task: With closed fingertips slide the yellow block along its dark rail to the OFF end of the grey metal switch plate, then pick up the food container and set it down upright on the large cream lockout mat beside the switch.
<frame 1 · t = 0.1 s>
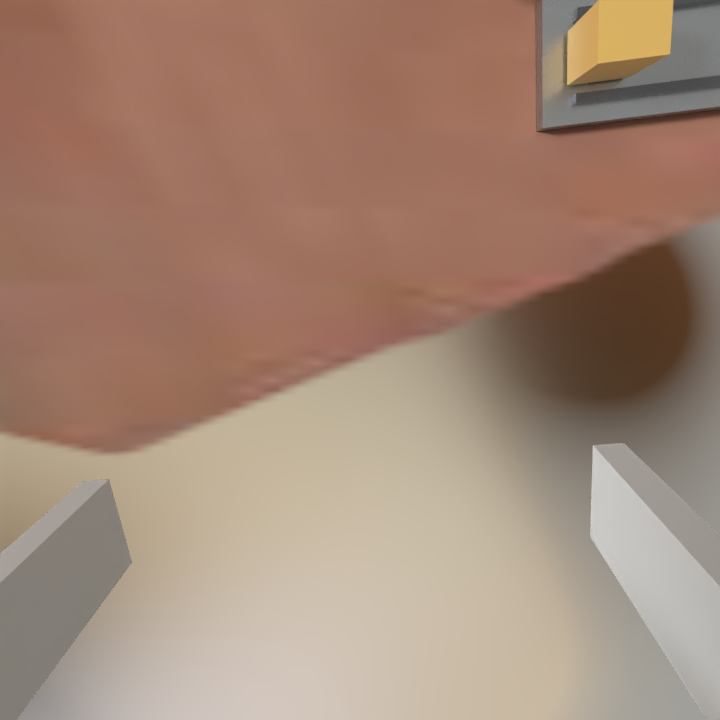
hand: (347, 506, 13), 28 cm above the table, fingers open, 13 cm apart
panel: (646, 55, 34), on the table
yellow block: (615, 42, 30), point 4 cm above the table, slide at 0.0 cm
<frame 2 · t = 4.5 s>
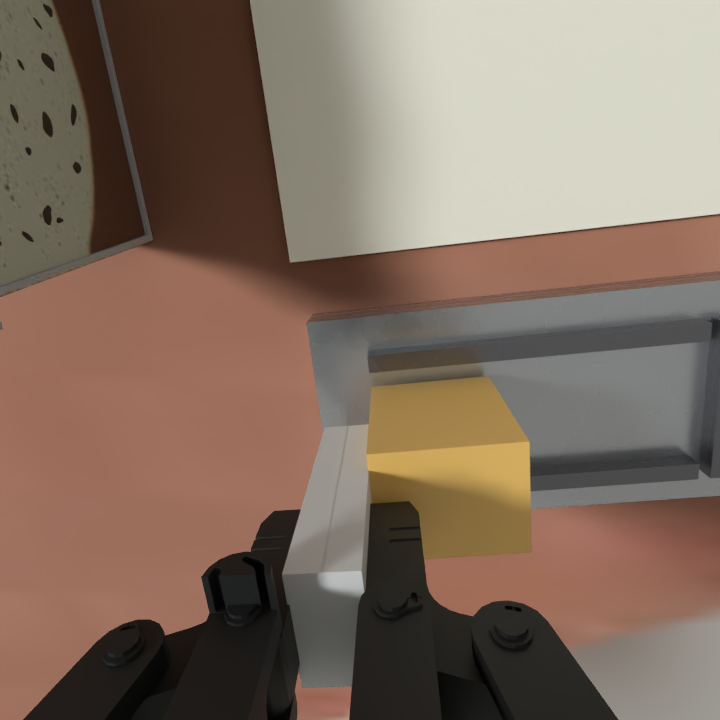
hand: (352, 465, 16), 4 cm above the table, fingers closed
panel: (519, 396, 19), on the table
yellow block: (440, 457, 15), point 4 cm above the table, slide at 0.5 cm, touching gripper
mat: (542, 0, 15), on the table
food container: (40, 112, 17), on the table
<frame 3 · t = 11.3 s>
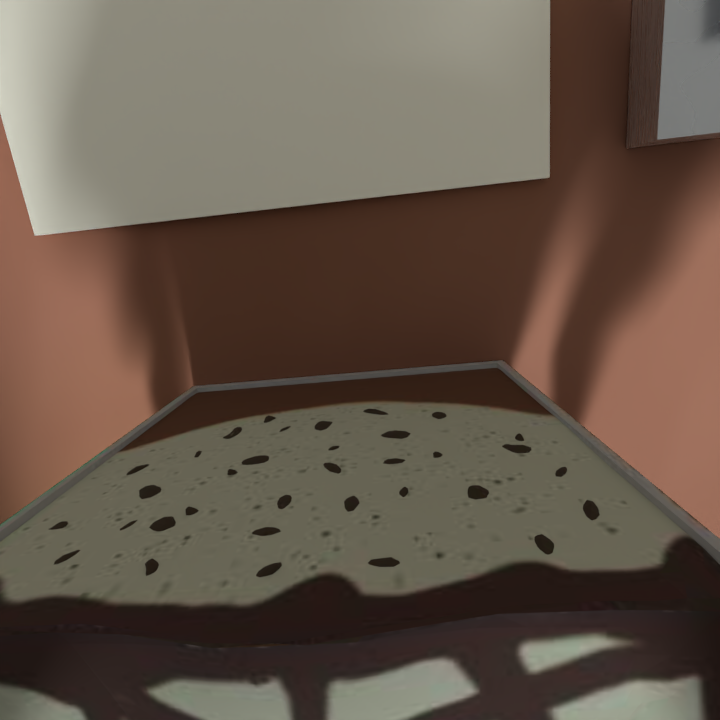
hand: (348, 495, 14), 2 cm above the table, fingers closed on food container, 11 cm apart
food container: (355, 462, 16), on the table, touching gripper
when the fingers open (3 cm above the table, at t = 19.3 s): food container stays where it is, resting on mat.
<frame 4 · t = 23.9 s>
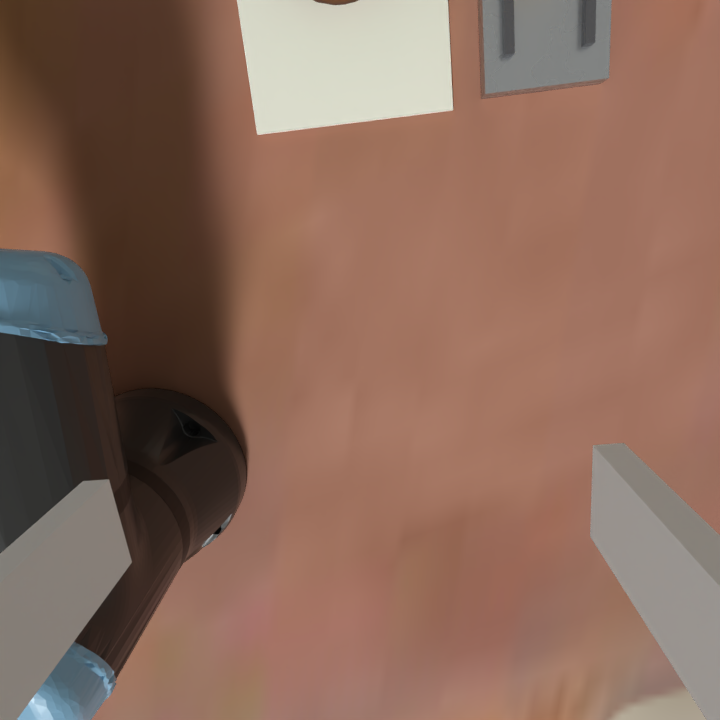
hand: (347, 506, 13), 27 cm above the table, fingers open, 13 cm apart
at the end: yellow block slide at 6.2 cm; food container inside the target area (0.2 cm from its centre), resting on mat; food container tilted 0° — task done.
